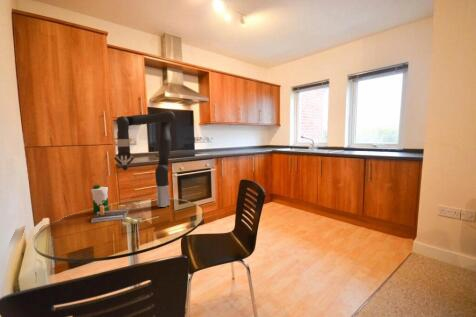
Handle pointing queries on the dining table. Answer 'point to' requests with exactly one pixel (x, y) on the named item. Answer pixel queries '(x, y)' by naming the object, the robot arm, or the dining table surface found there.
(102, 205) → the breaker lever
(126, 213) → the panel
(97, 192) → the milk carton
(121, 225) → the dining table surface
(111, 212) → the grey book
